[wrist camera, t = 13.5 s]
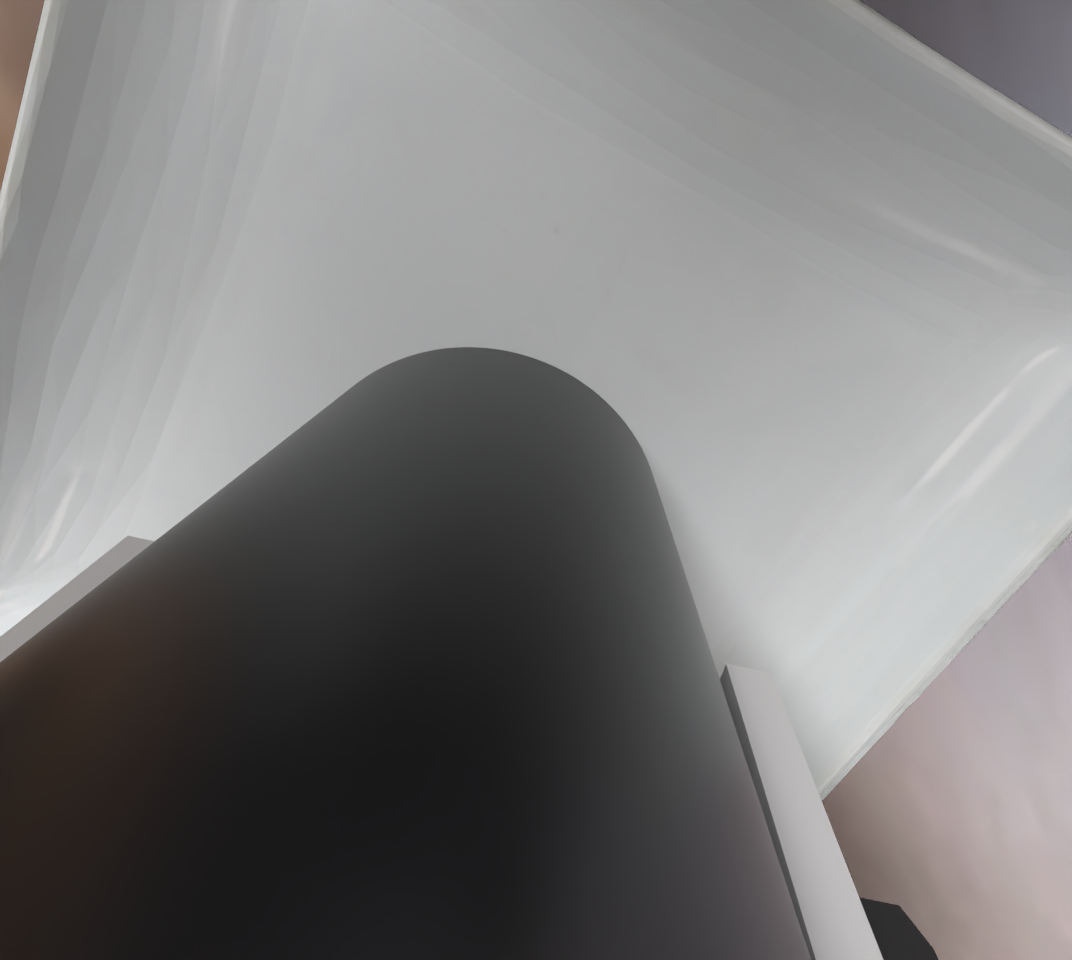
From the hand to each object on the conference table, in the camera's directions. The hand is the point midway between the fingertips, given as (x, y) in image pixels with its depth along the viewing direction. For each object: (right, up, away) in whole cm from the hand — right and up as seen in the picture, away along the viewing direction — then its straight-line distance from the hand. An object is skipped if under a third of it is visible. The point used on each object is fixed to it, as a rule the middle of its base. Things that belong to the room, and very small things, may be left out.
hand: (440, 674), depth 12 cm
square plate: (+1, +4, +11) cm, 11 cm away
